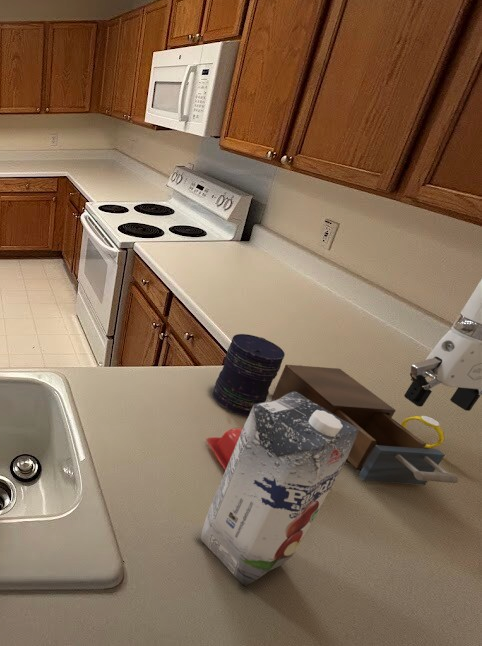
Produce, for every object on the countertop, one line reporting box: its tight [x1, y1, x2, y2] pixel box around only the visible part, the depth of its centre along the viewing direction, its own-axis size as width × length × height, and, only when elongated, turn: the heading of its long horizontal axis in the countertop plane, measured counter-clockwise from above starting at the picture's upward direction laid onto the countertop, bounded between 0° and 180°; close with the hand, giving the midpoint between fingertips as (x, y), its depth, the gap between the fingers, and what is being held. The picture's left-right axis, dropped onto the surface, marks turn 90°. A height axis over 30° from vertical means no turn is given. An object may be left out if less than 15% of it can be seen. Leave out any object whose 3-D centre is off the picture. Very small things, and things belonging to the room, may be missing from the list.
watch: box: [400, 415, 445, 449], centre depth 85 cm, size 6×3×6 cm, turn 25°
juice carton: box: [200, 391, 359, 586], centre depth 56 cm, size 9×10×27 cm
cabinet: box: [271, 364, 397, 419], centre depth 88 cm, size 14×13×9 cm
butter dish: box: [205, 427, 243, 471], centre depth 74 cm, size 12×12×8 cm
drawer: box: [333, 409, 459, 486], centre depth 76 cm, size 17×11×7 cm, turn 179°
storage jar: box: [212, 333, 286, 418], centre depth 90 cm, size 10×10×18 cm
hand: (435, 403), depth 82 cm, fingers open, 9 cm apart
